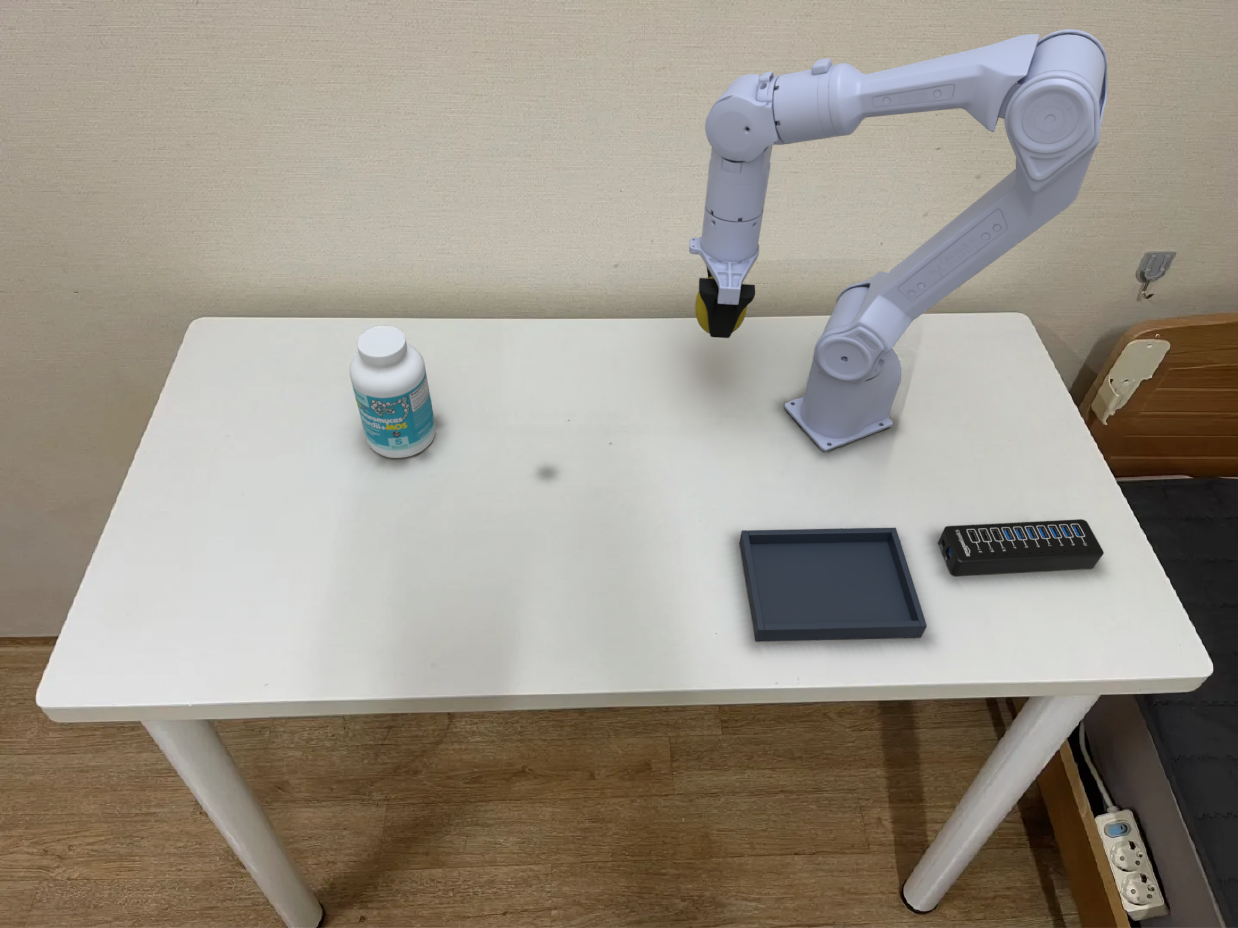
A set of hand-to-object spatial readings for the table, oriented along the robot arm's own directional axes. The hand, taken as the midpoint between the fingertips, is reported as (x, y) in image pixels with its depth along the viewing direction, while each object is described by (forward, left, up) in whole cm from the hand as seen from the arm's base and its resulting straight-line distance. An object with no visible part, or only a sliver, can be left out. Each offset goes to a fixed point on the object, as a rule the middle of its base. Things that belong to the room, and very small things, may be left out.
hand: (719, 317), depth 96 cm
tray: (+5, +30, -9) cm, 31 cm away
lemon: (0, 0, -3) cm, 3 cm away
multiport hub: (-14, +34, -10) cm, 39 cm away
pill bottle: (+35, -7, -10) cm, 37 cm away
